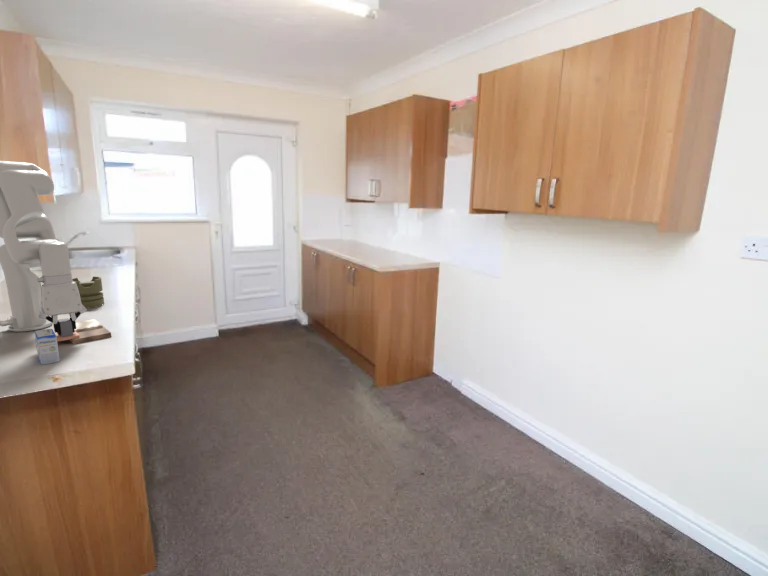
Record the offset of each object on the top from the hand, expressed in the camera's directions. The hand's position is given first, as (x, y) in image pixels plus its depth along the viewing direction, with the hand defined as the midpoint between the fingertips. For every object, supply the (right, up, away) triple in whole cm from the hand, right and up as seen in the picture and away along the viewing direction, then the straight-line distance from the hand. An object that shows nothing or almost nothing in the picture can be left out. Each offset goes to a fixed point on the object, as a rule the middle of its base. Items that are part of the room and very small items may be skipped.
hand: (65, 332), depth 140 cm
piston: (-25, +7, +46) cm, 53 cm away
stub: (-1, -2, -1) cm, 3 cm away
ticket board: (0, -1, +9) cm, 9 cm away
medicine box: (+6, -7, -15) cm, 18 cm away
